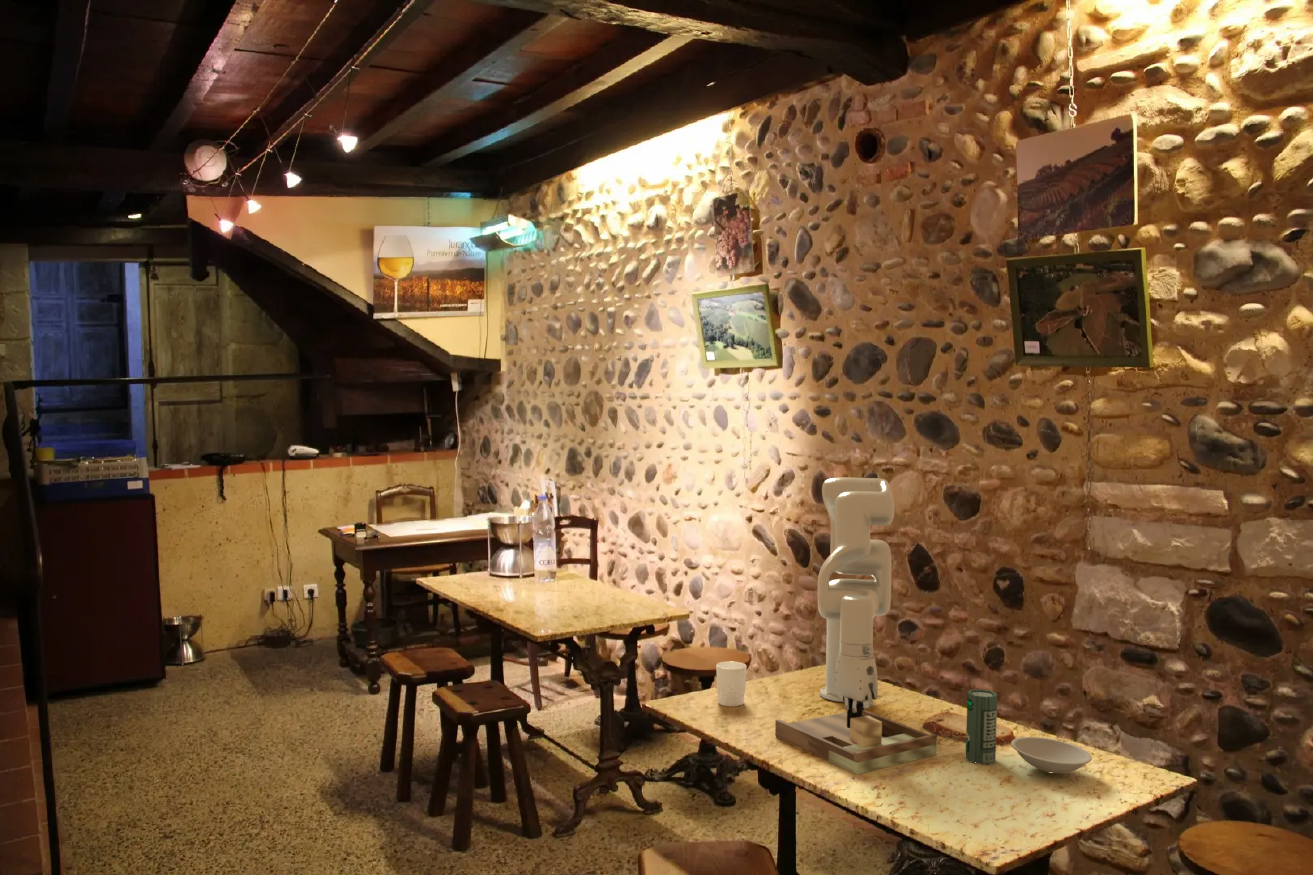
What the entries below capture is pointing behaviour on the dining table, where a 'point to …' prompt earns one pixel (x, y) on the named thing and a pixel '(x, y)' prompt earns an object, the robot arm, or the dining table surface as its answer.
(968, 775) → the dining table surface
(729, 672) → the white cup
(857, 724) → the maple block
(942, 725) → the bread slice
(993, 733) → the can
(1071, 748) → the dish
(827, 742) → the box
